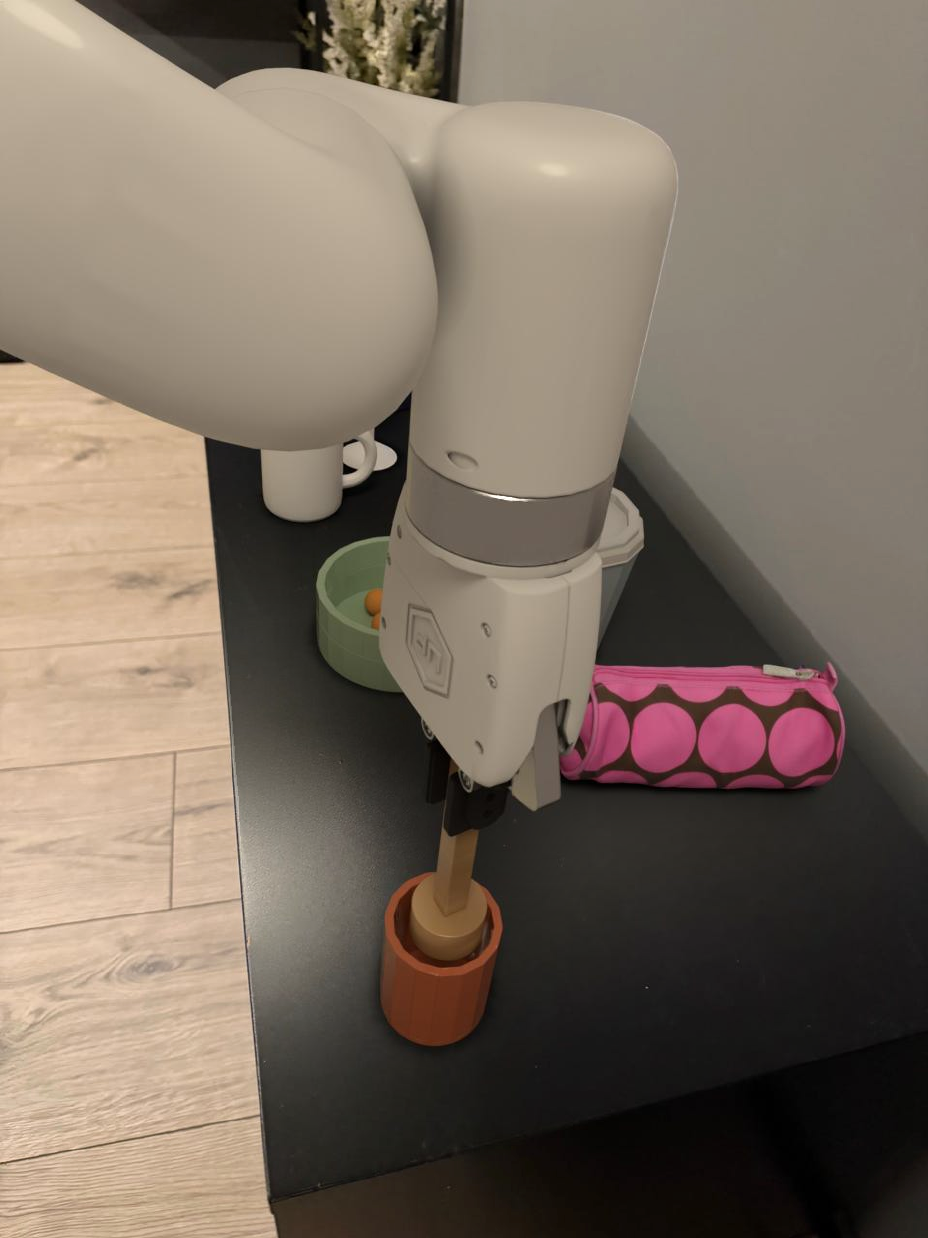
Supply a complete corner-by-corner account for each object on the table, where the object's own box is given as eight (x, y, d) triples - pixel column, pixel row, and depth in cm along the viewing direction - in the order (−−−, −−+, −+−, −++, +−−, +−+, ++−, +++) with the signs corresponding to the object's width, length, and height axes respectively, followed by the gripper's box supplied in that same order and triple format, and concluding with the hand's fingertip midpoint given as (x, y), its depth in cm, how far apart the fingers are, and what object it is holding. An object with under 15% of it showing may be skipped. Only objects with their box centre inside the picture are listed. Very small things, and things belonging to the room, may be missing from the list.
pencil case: (780, 717, 80) (819, 628, 73) (826, 806, 72) (875, 716, 66) (538, 721, 76) (557, 628, 70) (561, 815, 69) (585, 721, 63)
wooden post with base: (431, 973, 50) (458, 774, 40) (396, 913, 53) (413, 711, 43) (496, 942, 52) (538, 743, 42) (459, 885, 55) (490, 685, 44)
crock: (411, 1066, 54) (420, 996, 48) (361, 972, 58) (365, 898, 53) (506, 1015, 56) (524, 944, 51) (452, 929, 61) (464, 855, 56)
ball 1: (372, 624, 84) (367, 610, 82) (363, 605, 85) (358, 590, 83) (397, 613, 84) (392, 599, 82) (387, 594, 85) (382, 579, 83)
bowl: (360, 713, 75) (361, 658, 71) (291, 610, 84) (290, 557, 80) (508, 663, 81) (517, 611, 78) (430, 573, 91) (434, 522, 87)
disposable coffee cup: (628, 684, 81) (669, 544, 71) (509, 689, 79) (534, 545, 69) (597, 608, 89) (629, 472, 79) (487, 610, 87) (507, 472, 77)
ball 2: (363, 631, 80) (374, 638, 82) (386, 636, 79) (397, 644, 81) (371, 605, 81) (383, 613, 83) (395, 610, 80) (406, 619, 82)
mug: (367, 477, 103) (370, 392, 97) (384, 518, 97) (388, 430, 91) (258, 485, 100) (254, 397, 93) (269, 528, 94) (265, 437, 87)
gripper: (327, 411, 37) (327, 726, 49) (541, 642, 27) (478, 969, 39) (484, 383, 41) (449, 685, 52) (726, 581, 31) (617, 899, 42)
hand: (462, 805), depth 46 cm, fingers closed on wooden post with base, 1 cm apart
